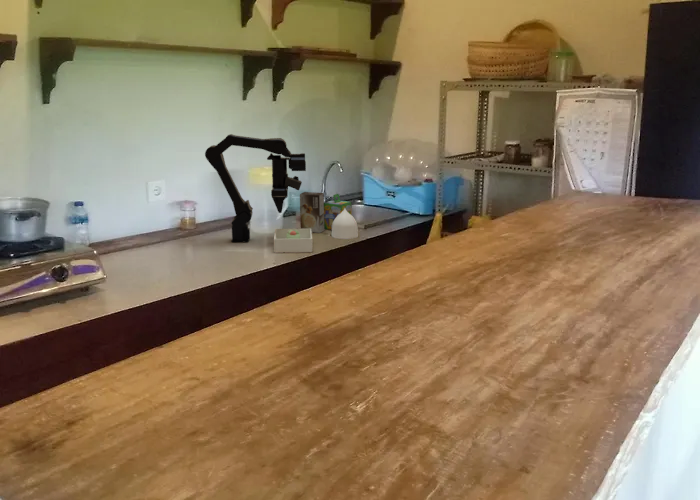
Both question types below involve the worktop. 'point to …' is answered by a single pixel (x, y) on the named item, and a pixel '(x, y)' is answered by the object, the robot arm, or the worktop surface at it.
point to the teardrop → (344, 226)
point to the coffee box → (312, 211)
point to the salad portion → (293, 234)
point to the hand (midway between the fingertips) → (280, 210)
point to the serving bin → (292, 241)
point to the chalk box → (334, 210)
